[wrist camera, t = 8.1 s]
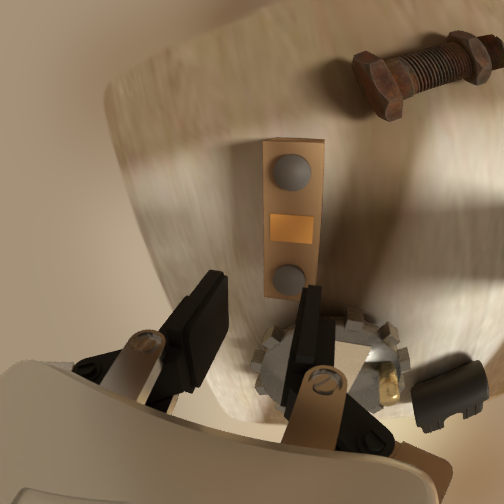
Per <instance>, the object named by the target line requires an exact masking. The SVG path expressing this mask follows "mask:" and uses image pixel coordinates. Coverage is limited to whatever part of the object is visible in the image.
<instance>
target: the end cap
mask: <svg viewBox="0 0 504 504" xmlns="http://www.w3.org/2000/svg"><path fill="white" fill-rule="evenodd" d="M411 397H412V404H413V410H414V415H415V420H416V424H417V427H421V428H422V430H423V432H424V433H429V432H432V431H435V430H438V429H441V428H443V427H444V421H445V419H446V418H448V417H449V416H451V415H454V414H456V413H463V419H466V418H468V417H471V416H473V415H476V414H477V413H479V412H481V411H482V408H483V401H485V400H487V399H488V398H489V387H488V381H487V377H486V373H485V370H484V368H483V365H482V363H481V362H480V361H479V360H476V361H472V362H470V363H468V364H466V365H463V366H461V367H459V368H457V369H455V370H452V371H450V372H448V373H445V374H443V375H440V376H438V377H435V378H433V379H430V380H428V381H425V382H422V383H420V384H417V385H414V387H412V388H411Z"/></svg>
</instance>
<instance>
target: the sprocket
mask: <svg viewBox="0 0 504 504" xmlns="http://www.w3.org/2000/svg"><path fill="white" fill-rule="evenodd" d="M319 318H323V319H330V320H335V321H336V332H335V359H334V367H335V368H337V369H339V370H340V371H341V372H342V373H343V374H344V375H345V376H346V379H347V383H348V386H347V393H348V394H349V395H350V396H351V397H352V398H353V399H355V400H356V401H357V402H358V403H359V404H360V405H361V406H362V407H363V408H365V409H366V410H367V411H370V412H371V413H373V414H374V413H376V412H378V411H380V410H381V409H383V406H392V405H395V404H396V403H398V402H399V400H400V394H401V392H402V391H403V389H404V388H405V382H404V376H403V374H401V372H402V371H406V370H410V369H411V368H410V358H409V354H408V349H407V347H405V348H402V349H398V350H397V348H396V345H397V344H398V343H399V342H400V340H399V336H398V331H397V329H396V328H395V327H394V326H393V325H392V324H390V323H389V322H386V323H385V324H384V325H383V326H381V327H380V328H379V327H377V326H375V325H373V324H372V323H369V322H367V321H364V317H363V310H359V309H354V308H349V307H347V310H346V313H345V316H324V317H319ZM294 329H295V324H293V325H291V326H289V327H288V328H286V329H284V330H283V329H281V328H280V327H278V326H277V325H276V324H274V325H273V326H272V327H271V328H270V329H269V330H268V331H266V333H265V336H264V339H263V342H262V345H263V346H265V347H266V348H267V349H266V351H265V352H264V351H260V350H255V353H254V356H253V358H252V361H251V367H250V371H254V372H258V373H260V375H259V376H258V378H257V381H256V384H255V389H256V390H257V392H258V393H259V395H269V396H270V397H271V398H272V399H273V400H274V401H275V402H276V405H275V409H277V410H279V411H281V412H283V413H285V408H286V407H282V406H280V404H281V399H282V393H283V388H284V382H285V376H286V371H287V365H288V359H289V353H290V348H291V344H292V339H293V334H294Z"/></svg>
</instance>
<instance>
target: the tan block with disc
mask: <svg viewBox="0 0 504 504" xmlns="http://www.w3.org/2000/svg"><path fill="white" fill-rule="evenodd" d="M324 144H325V139H309V138H278V137H277V138H273V139H270V140H266V141H263V207H264V297H268V298H277V299H286V300H295V301H300V299H301V293H302V288H303V287H305V288H308V284H309V285H316V277H317V267H318V256H319V244H320V231H321V216H322V199H323V178H324Z"/></svg>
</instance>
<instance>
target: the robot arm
mask: <svg viewBox="0 0 504 504" xmlns="http://www.w3.org/2000/svg"><path fill="white" fill-rule="evenodd" d="M320 299H321V286H317V285H309V284H308V288H305V287H303V288H302V293H301V299H300V304H299V309H298V314H297V319H296V324H295V329H294V334H293V339H292V344H291V348H290V353H289V359H288V365H287V371H286V376H285V382H284V388H283V393H282V399H281V404H280V406H282V407H286V408H285V413H284V417H285V418H286V419H287V420H288V421H289V422H288V424H287V427H286V430H285V433H284V435H283V438H282V441H281V443H275V442H269V441H264V440H260V439H254V438H250V437H245V436H241V435H237V434H233V433H229V432H225V431H221V430H218V429H214V428H210V427H206V426H203V425H200V424H197V423H193V422H190V421H187V420H184V419H181V418H178V417H175V416H172V412H173V410H174V407H175V405H176V402H177V400H178V396H179V394H180V393H183V392H184V391H185V392H188V393H193V391H194V389H195V387H198V388H199V387H200V386H201V384H202V382H203V380H204V378H205V376H206V374H207V372H208V370H209V368H210V366H211V364H212V362H213V360H214V358H215V356H216V354H217V352H218V350H219V348H220V346H221V344H222V342H223V340H224V338H225V336H226V334H227V331H228V327H229V313H228V277H227V276H225V275H224V273H223V272H222V271H215V270H209V271H208V272H207V274H206V275H205V276H204V277H203V279H202V280H201V281H200V283H199V284H198V285H197V287H196V288H195V289H194V290H193V292H192V293H191V294H190V296H185V297H184V298H183V300H182V301H181V302H180V304H179V305H178V306H177V307H176V309H175V310H174V311H173V313H172V314H171V315H170V316H169V318H168V319H167V320H166V322H165V323H164V324H163V326H162V327H161V328H160V329H159V331H155V330H142V331H139V332H137V333H135V334H134V335H132V336H131V337H130V339H129V340H128V342H127V343H126V345H125V346H124V348H123V349H121V350H118V351H113V352H109V353H106V354H101V355H97V356H93V357H89V358H85V359H83V360H81V361H79V362H78V363H76V365H74V362H44V361H37V360H22V361H19V362H17V363H15V364H13V365H12V366H10V367H9V368H8V369H7V370H6V371H4V372H3V373H2V374H1V375H0V504H441V503H442V500H443V498H444V496H445V494H446V492H447V489H448V487H449V485H450V482H451V479H452V476H453V468H452V466H451V464H450V463H449V462H448V461H447V460H445V459H443V458H441V457H438V456H436V455H433V454H431V453H429V452H426V451H424V450H422V449H419V448H417V447H415V446H413V445H411V444H409V443H406V442H404V441H403V442H402V443H399V442H397V441H395V439H394V437H393V434H392V433H391V432H390V431H389V430H388V429H387V428H386V427H385V426H384V425H383V424H381V423H380V422H379V421H378V420H377V419H376V418H375V417H374V416H372V415H371V414H370V413H369V412H368V411H367V410H366V409H365V408H363V407H362V406H361V405H360V404H359V403H358V402H357V401H356V400H355V399H353V398H352V397H351V396H350V395H349V394H348V393H347V386H348V383H347V379H346V376H345V375H344V374H343V373H342V372H341V371H340V370H339V369H337V368H335V367H334V359H335V332H336V321H335V320H330V319H323V318H319V311H320Z"/></svg>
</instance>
